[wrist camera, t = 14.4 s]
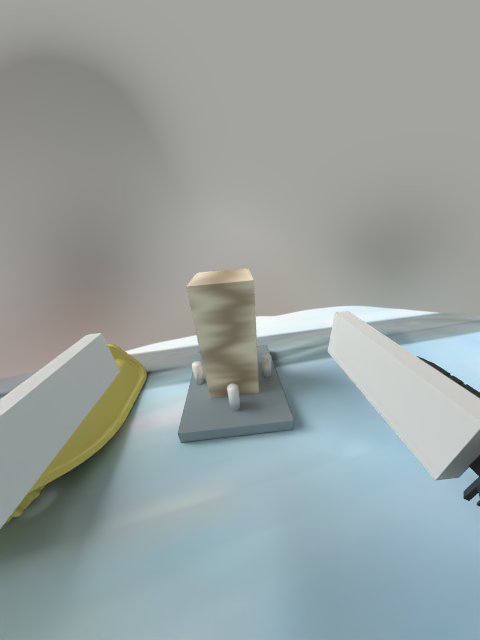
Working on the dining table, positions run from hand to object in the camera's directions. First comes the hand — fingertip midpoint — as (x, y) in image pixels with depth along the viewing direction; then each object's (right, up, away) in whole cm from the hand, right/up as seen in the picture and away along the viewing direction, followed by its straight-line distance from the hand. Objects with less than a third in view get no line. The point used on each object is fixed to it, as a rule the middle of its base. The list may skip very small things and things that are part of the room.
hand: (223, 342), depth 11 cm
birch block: (0, -7, +14) cm, 16 cm away
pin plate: (0, -8, +15) cm, 17 cm away
